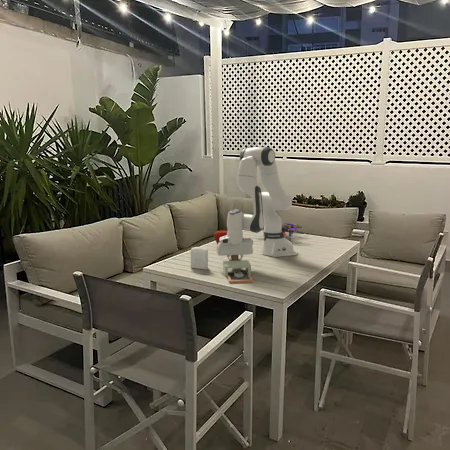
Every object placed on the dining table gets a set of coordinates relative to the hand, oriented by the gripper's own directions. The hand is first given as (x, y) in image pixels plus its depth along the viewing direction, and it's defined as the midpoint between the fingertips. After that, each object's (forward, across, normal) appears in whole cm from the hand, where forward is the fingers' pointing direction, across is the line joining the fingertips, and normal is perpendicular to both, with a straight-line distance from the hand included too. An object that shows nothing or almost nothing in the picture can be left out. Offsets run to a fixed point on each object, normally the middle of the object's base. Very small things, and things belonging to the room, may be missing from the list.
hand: (235, 262), depth 258 cm
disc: (+4, 0, +17) cm, 18 cm away
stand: (+4, 0, +9) cm, 10 cm away
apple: (+4, +2, -49) cm, 49 cm away
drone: (+4, -44, -70) cm, 83 cm away
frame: (+4, 0, +20) cm, 21 cm away
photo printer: (+4, +20, -3) cm, 21 cm away
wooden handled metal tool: (+3, 0, +5) cm, 6 cm away
